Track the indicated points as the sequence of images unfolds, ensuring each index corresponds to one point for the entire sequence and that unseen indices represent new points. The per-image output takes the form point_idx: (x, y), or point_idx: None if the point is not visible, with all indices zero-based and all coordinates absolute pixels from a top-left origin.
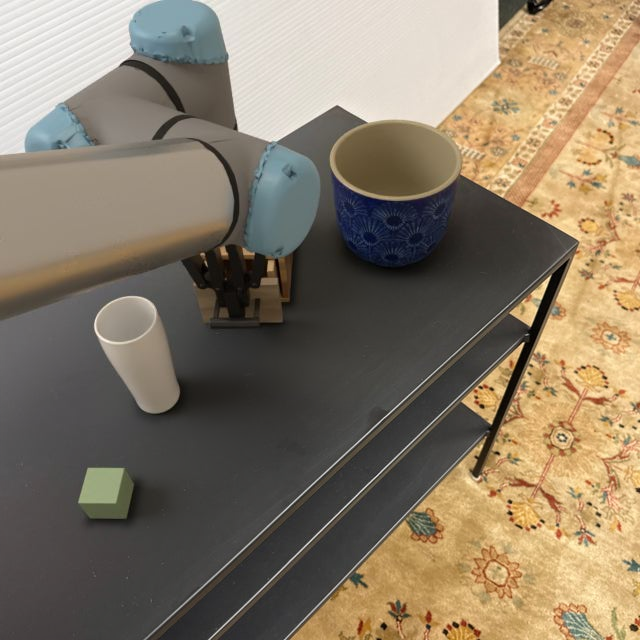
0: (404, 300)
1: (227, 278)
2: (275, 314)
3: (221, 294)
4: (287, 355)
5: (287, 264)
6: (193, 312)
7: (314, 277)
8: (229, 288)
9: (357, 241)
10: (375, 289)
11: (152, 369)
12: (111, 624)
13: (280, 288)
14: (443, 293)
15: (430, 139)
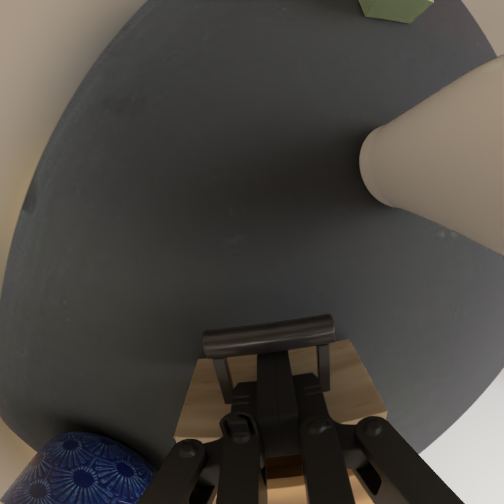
0: (62, 388)
1: (298, 452)
2: (204, 372)
3: (309, 409)
4: (172, 293)
5: None
6: (369, 355)
7: None
8: (284, 431)
9: (109, 475)
10: (98, 407)
11: (450, 84)
12: None
13: None
14: (36, 391)
15: None
